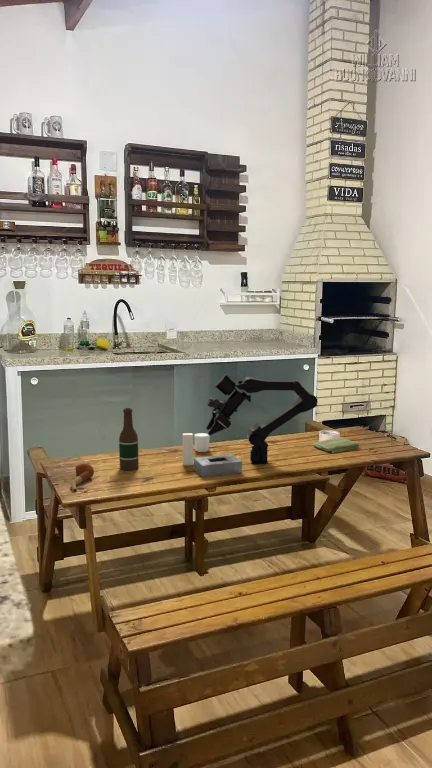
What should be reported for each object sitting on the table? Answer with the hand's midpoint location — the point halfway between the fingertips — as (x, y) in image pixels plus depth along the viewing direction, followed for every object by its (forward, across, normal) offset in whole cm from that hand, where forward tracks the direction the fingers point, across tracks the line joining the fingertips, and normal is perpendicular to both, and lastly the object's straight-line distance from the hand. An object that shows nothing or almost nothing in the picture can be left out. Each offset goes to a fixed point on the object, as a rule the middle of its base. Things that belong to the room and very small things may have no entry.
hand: (207, 431), depth 260 cm
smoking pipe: (+42, +20, -27) cm, 54 cm away
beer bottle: (+31, +3, -15) cm, 34 cm away
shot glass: (+11, -20, +8) cm, 24 cm away
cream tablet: (+15, 0, +3) cm, 15 cm away
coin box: (+8, +10, +11) cm, 17 cm away
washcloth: (-28, -18, +53) cm, 62 cm away
